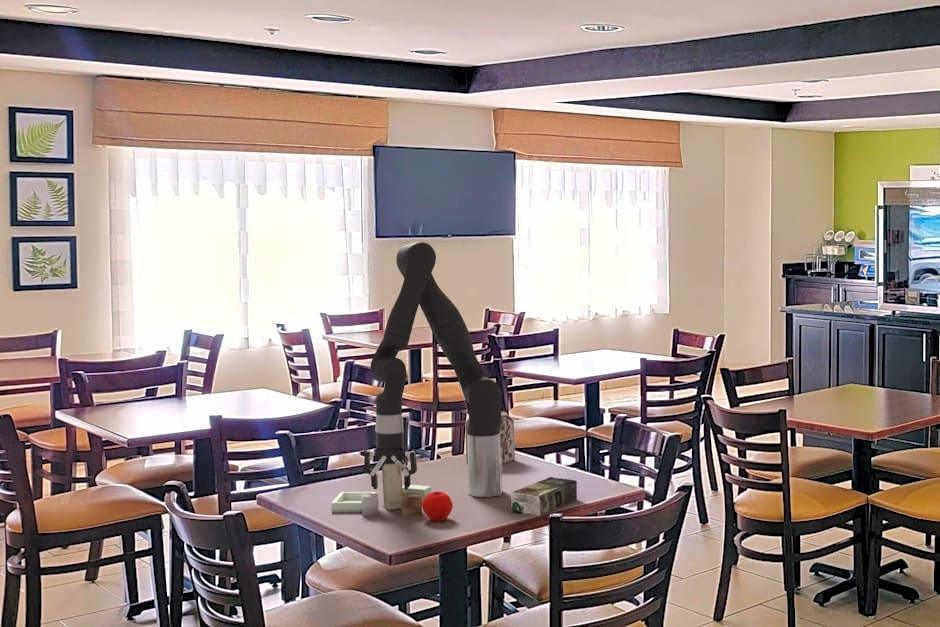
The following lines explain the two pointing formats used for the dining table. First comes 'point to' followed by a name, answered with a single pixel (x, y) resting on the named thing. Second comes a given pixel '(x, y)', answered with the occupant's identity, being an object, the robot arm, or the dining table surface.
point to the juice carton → (544, 496)
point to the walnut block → (411, 503)
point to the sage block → (418, 490)
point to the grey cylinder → (369, 504)
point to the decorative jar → (502, 438)
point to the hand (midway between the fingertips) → (390, 488)
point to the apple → (437, 505)
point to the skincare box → (392, 485)
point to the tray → (348, 502)
